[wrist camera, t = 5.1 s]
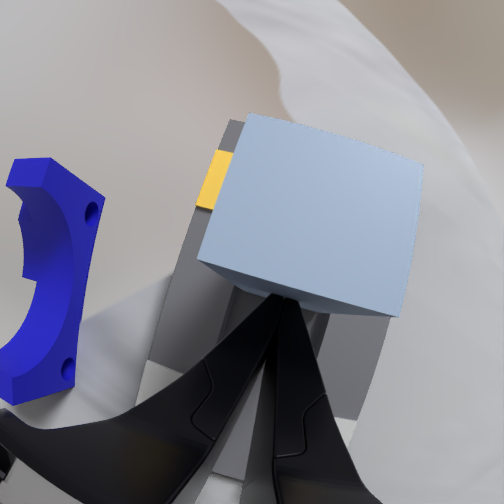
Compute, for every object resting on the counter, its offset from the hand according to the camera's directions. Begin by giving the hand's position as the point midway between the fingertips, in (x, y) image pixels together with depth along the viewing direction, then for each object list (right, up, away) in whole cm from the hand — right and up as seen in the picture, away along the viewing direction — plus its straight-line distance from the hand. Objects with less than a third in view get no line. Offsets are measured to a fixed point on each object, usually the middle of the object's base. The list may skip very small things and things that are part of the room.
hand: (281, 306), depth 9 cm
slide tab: (+1, +1, +6) cm, 6 cm away
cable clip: (-13, -1, +8) cm, 15 cm away
